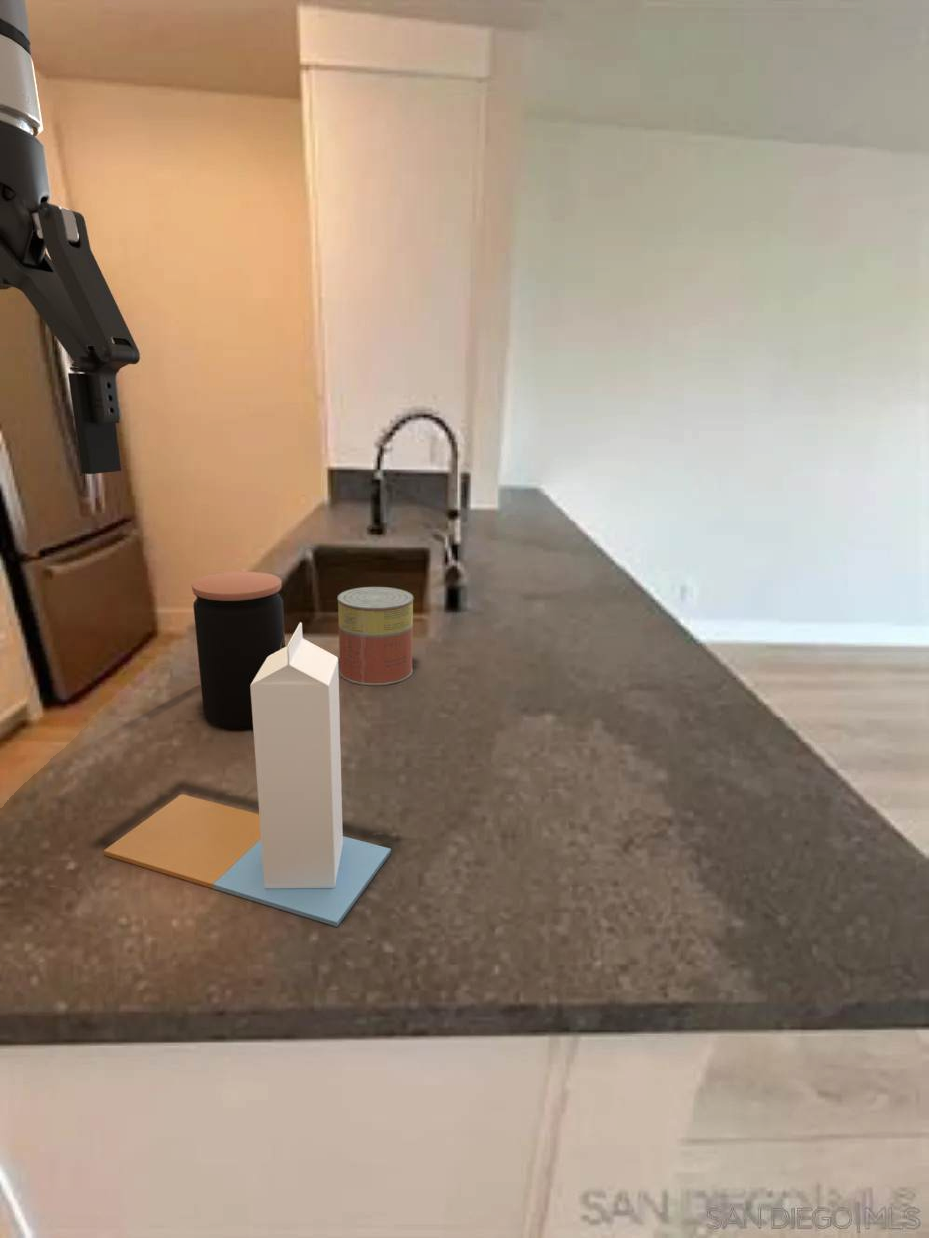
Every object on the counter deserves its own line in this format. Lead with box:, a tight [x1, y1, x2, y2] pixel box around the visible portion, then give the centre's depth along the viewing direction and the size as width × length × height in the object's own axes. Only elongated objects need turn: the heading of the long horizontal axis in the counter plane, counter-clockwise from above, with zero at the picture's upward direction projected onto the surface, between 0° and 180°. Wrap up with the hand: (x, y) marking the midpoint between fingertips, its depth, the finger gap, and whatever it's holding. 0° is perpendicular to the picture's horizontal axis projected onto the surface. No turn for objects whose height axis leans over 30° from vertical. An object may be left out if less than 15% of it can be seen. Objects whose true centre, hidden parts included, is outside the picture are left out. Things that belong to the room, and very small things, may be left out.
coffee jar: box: [191, 571, 286, 731], centre depth 86 cm, size 11×11×18 cm
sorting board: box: [103, 793, 392, 928], centre depth 62 cm, size 24×10×1 cm, turn 70°
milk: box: [250, 621, 344, 889], centre depth 57 cm, size 6×6×22 cm
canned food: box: [337, 586, 415, 687], centre depth 102 cm, size 11×11×12 cm
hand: (30, 466), depth 49 cm, fingers open, 13 cm apart
